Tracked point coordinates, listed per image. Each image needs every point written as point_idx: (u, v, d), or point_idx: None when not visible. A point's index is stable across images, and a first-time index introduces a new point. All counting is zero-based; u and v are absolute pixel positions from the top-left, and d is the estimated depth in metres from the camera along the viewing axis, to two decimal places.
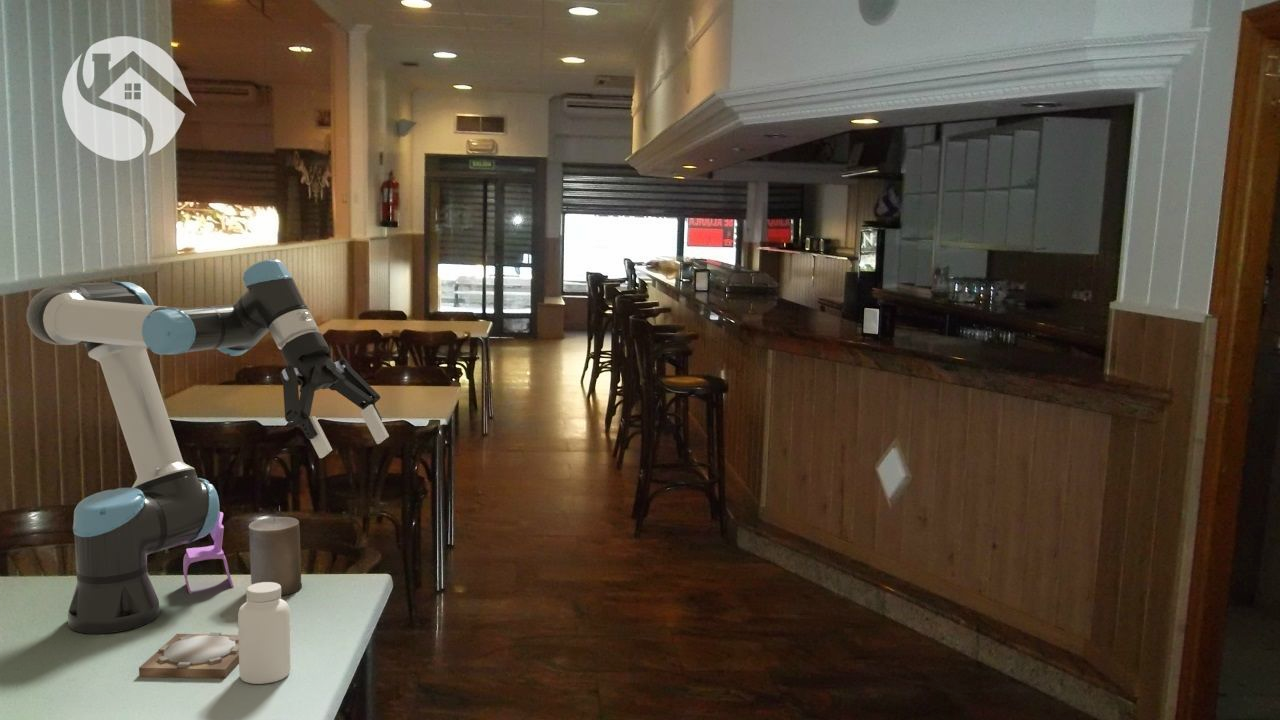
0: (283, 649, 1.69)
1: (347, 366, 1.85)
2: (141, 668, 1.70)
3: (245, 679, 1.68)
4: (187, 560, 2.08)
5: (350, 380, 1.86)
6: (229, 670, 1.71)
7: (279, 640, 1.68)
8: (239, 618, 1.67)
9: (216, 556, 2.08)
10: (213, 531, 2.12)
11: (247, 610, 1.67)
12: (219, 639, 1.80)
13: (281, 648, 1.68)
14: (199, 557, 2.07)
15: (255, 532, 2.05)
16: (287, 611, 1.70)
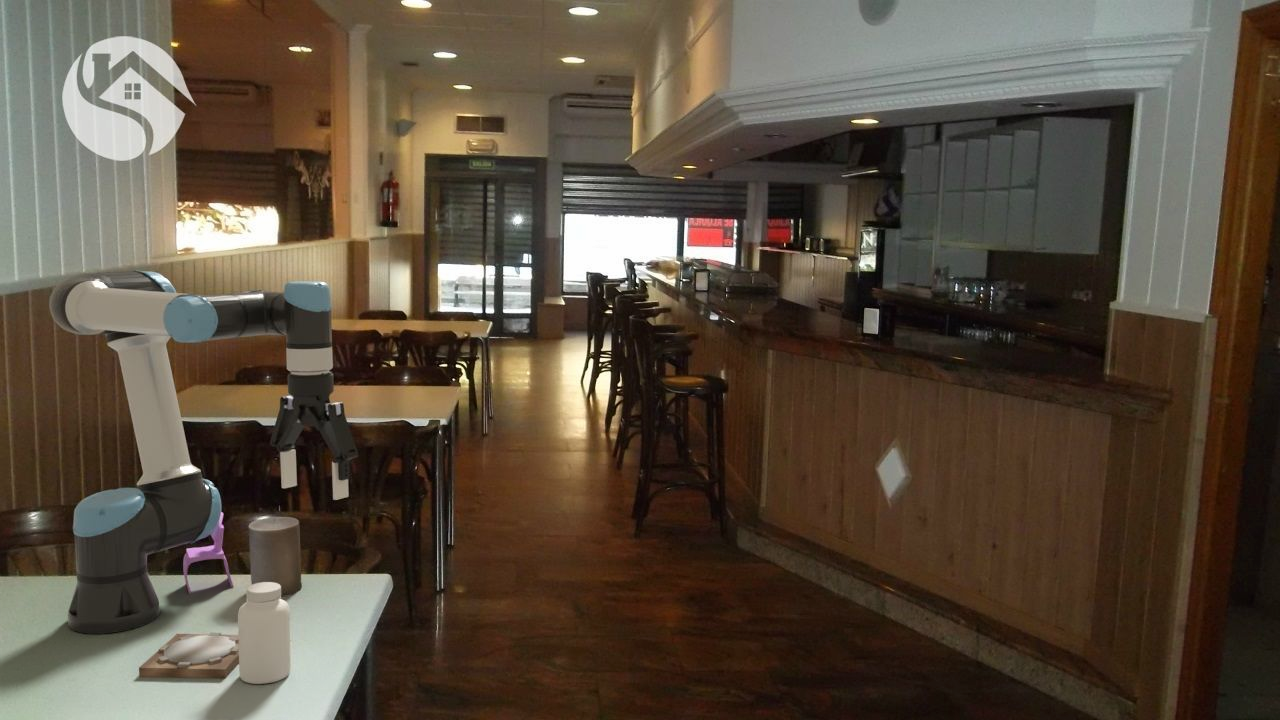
0: (283, 649, 1.69)
1: None
2: (141, 668, 1.70)
3: (245, 679, 1.68)
4: (187, 560, 2.08)
5: (287, 418, 1.84)
6: (229, 670, 1.71)
7: (279, 640, 1.68)
8: (239, 618, 1.67)
9: (216, 556, 2.08)
10: (213, 531, 2.12)
11: (247, 610, 1.67)
12: (219, 639, 1.80)
13: (281, 648, 1.68)
14: (199, 557, 2.07)
15: (255, 532, 2.05)
16: (287, 611, 1.70)
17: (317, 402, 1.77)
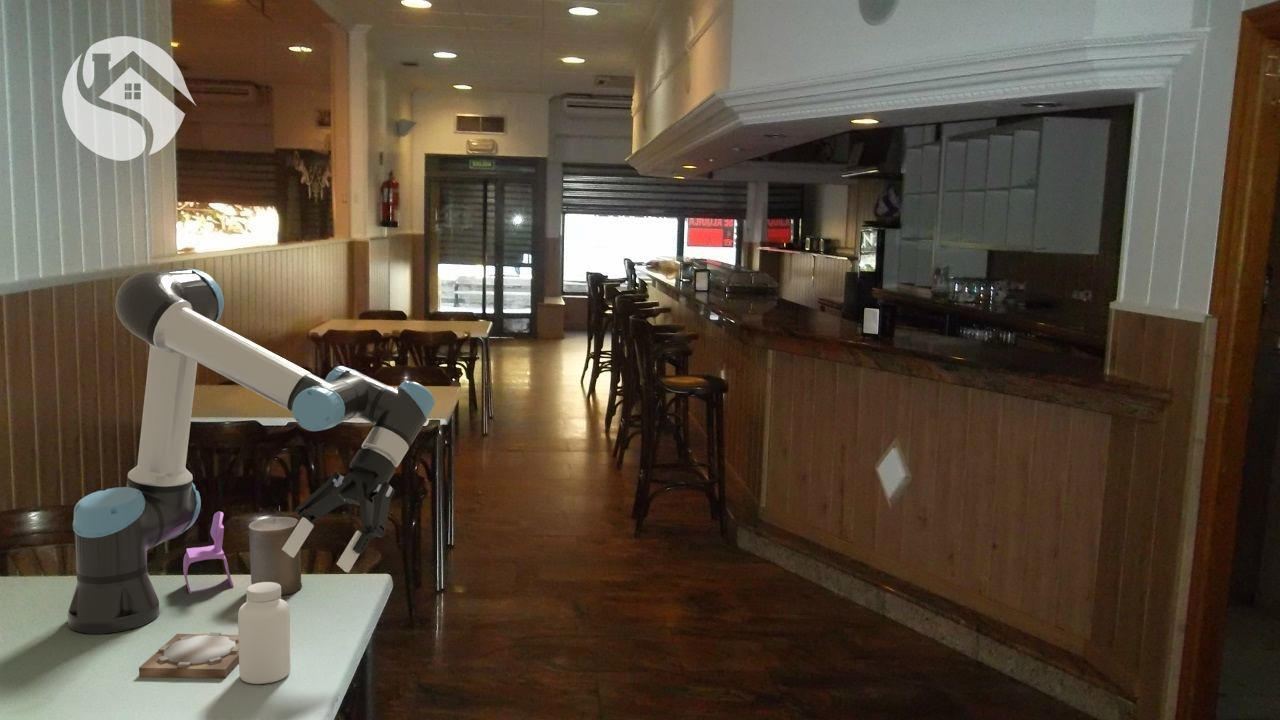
0: (283, 649, 1.69)
1: None
2: (141, 668, 1.70)
3: (245, 679, 1.68)
4: (187, 560, 2.08)
5: (326, 493, 1.87)
6: (229, 670, 1.71)
7: (279, 640, 1.68)
8: (239, 618, 1.67)
9: (216, 556, 2.08)
10: (213, 531, 2.12)
11: (247, 610, 1.67)
12: (219, 639, 1.80)
13: (281, 648, 1.68)
14: (199, 557, 2.07)
15: (255, 532, 2.05)
16: (287, 611, 1.70)
17: (373, 480, 1.84)
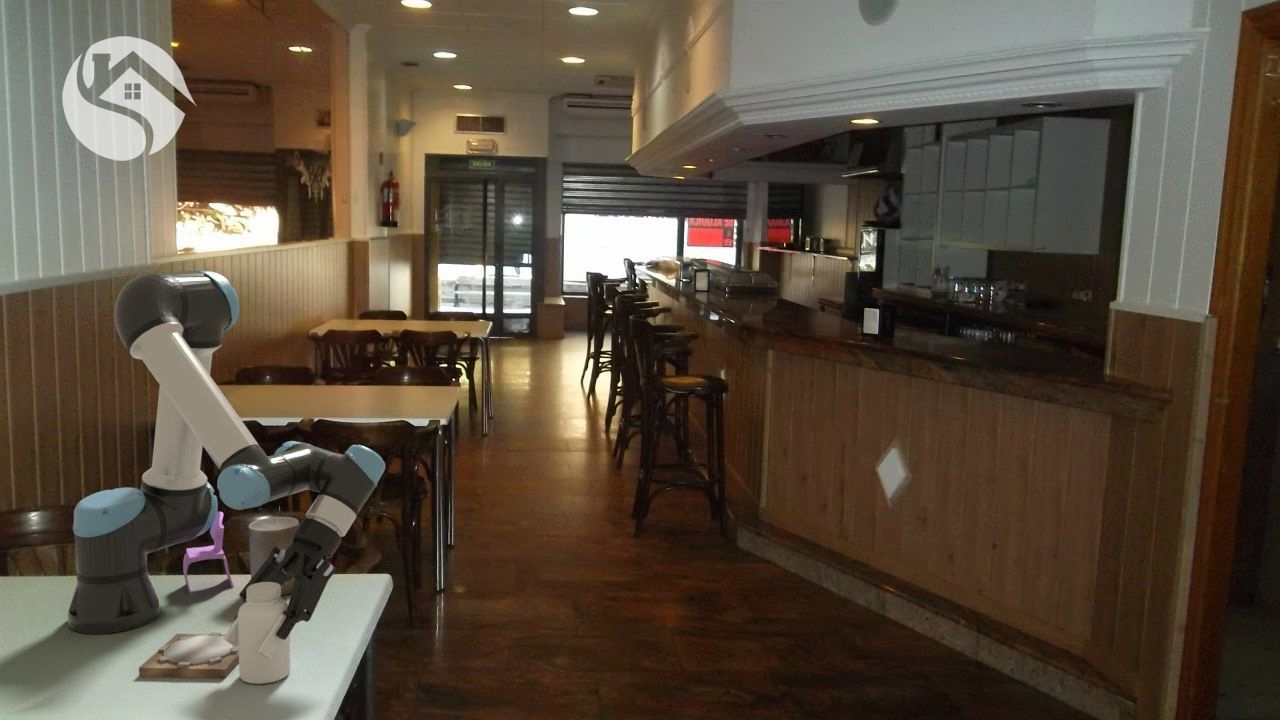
0: (283, 649, 1.69)
1: None
2: (141, 668, 1.70)
3: (245, 679, 1.68)
4: (187, 560, 2.08)
5: (269, 571, 1.77)
6: (229, 670, 1.71)
7: None
8: (239, 618, 1.67)
9: (216, 556, 2.08)
10: (213, 531, 2.12)
11: (247, 610, 1.67)
12: (219, 639, 1.80)
13: (280, 648, 1.68)
14: (199, 557, 2.07)
15: (255, 532, 2.05)
16: None
17: (316, 552, 1.74)
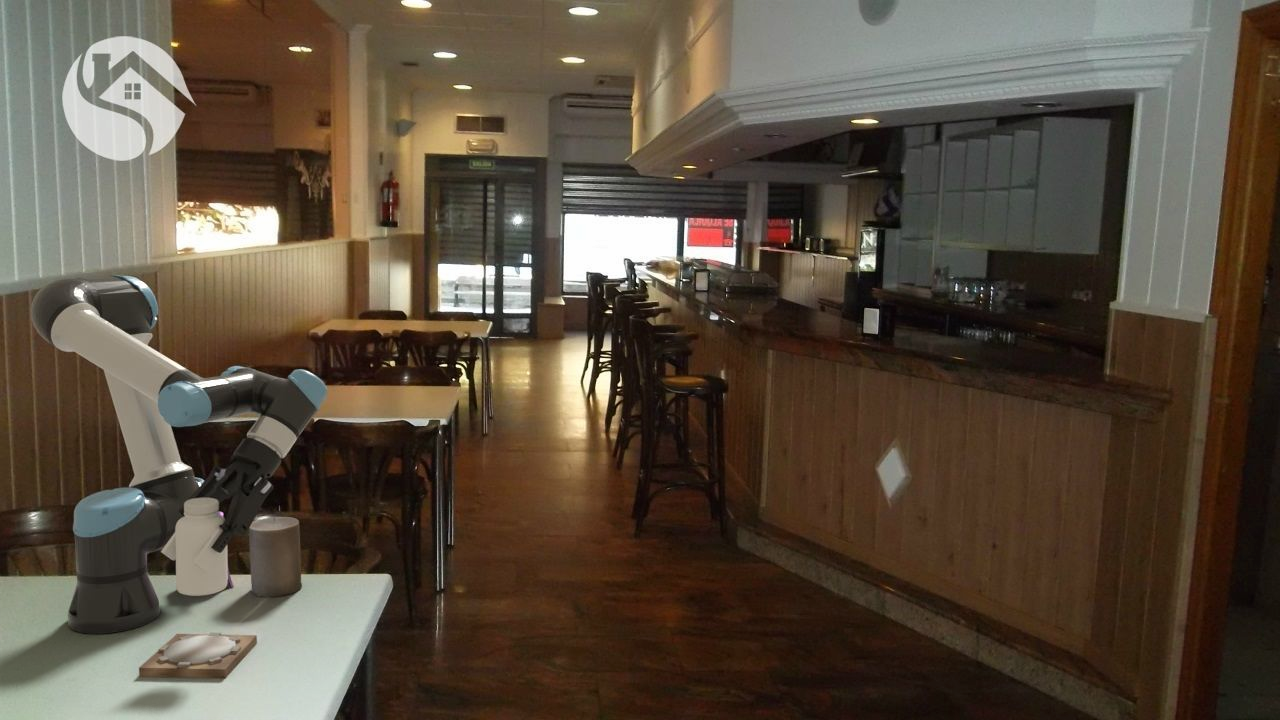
0: (220, 563, 1.72)
1: None
2: (141, 668, 1.70)
3: (181, 591, 1.71)
4: None
5: (209, 489, 1.80)
6: (229, 670, 1.71)
7: None
8: (176, 531, 1.71)
9: None
10: None
11: (184, 523, 1.70)
12: (219, 639, 1.80)
13: (217, 562, 1.72)
14: None
15: (255, 532, 2.05)
16: None
17: (255, 471, 1.77)
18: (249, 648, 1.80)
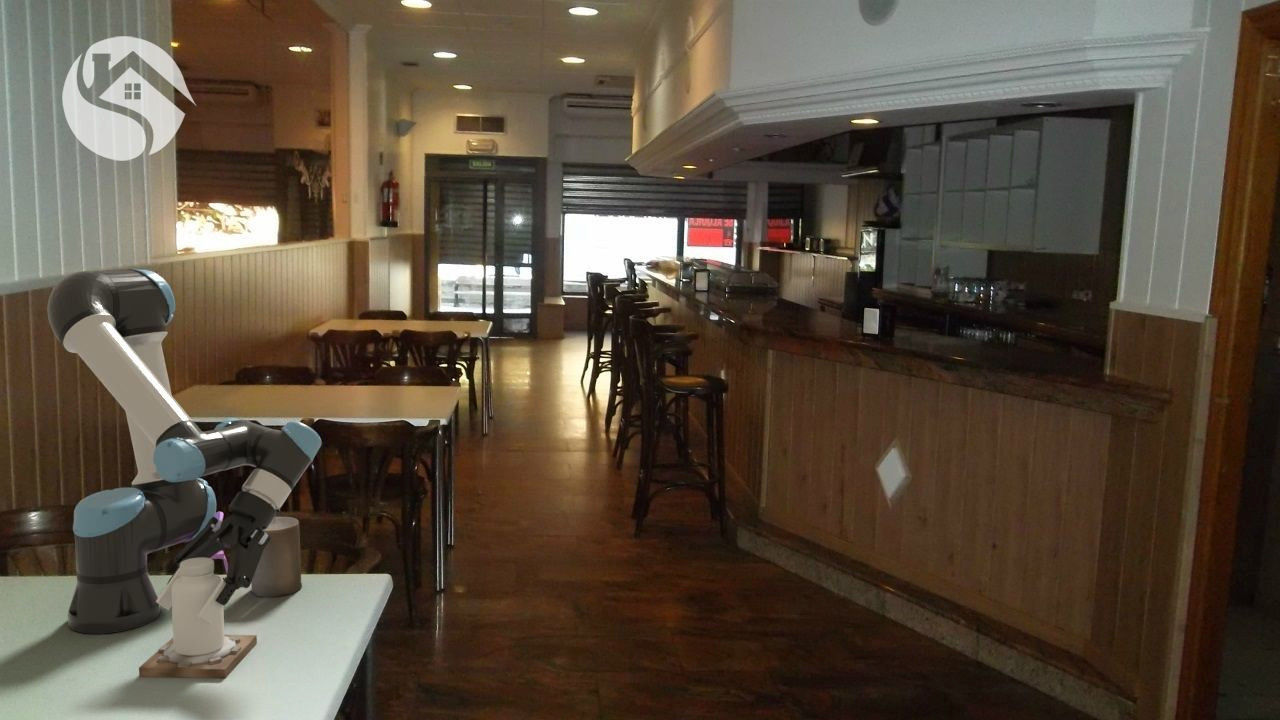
0: (216, 622, 1.74)
1: None
2: (141, 668, 1.70)
3: (178, 651, 1.73)
4: None
5: (205, 540, 1.83)
6: (229, 670, 1.71)
7: None
8: (172, 592, 1.73)
9: (216, 556, 2.08)
10: None
11: (179, 584, 1.72)
12: None
13: (213, 621, 1.74)
14: None
15: None
16: None
17: (250, 524, 1.79)
18: (249, 648, 1.80)
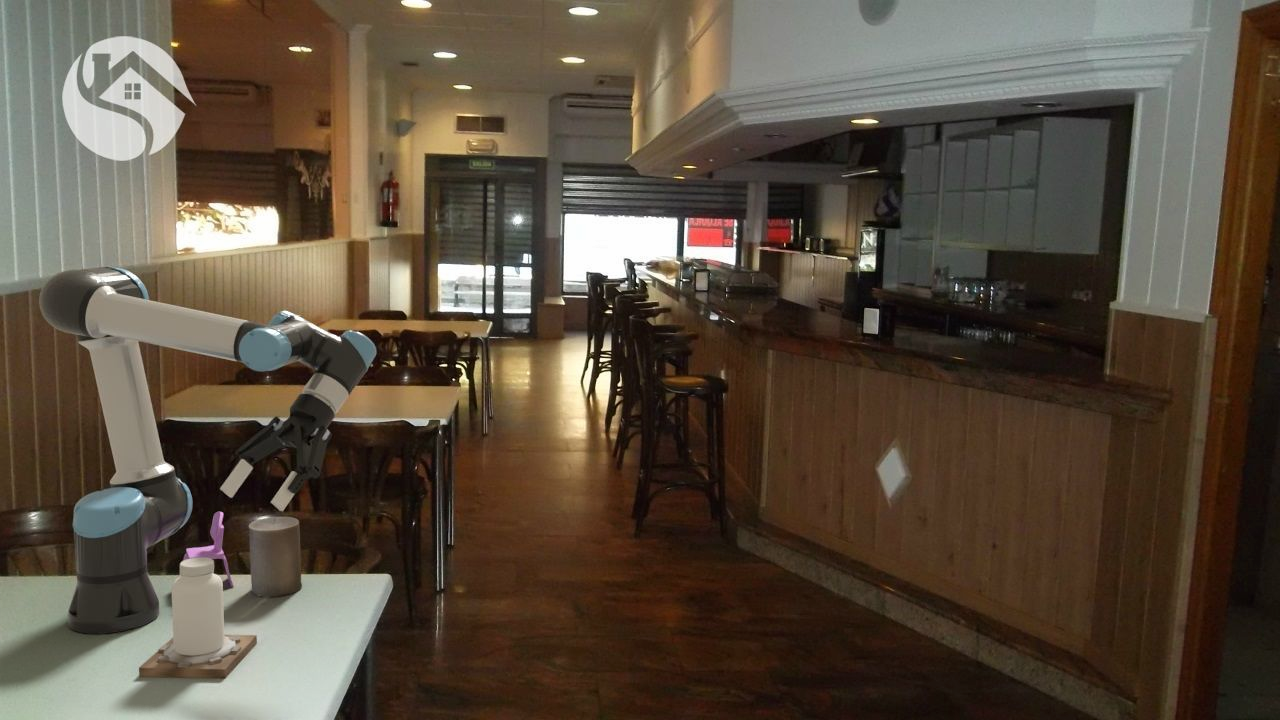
0: (216, 622, 1.74)
1: None
2: (141, 668, 1.70)
3: (178, 651, 1.73)
4: None
5: (266, 437, 1.92)
6: (229, 670, 1.71)
7: (212, 613, 1.73)
8: (172, 592, 1.73)
9: (216, 556, 2.08)
10: (213, 531, 2.12)
11: (179, 584, 1.72)
12: None
13: (213, 621, 1.74)
14: None
15: (255, 532, 2.05)
16: (219, 585, 1.75)
17: (311, 424, 1.88)
18: (249, 648, 1.80)
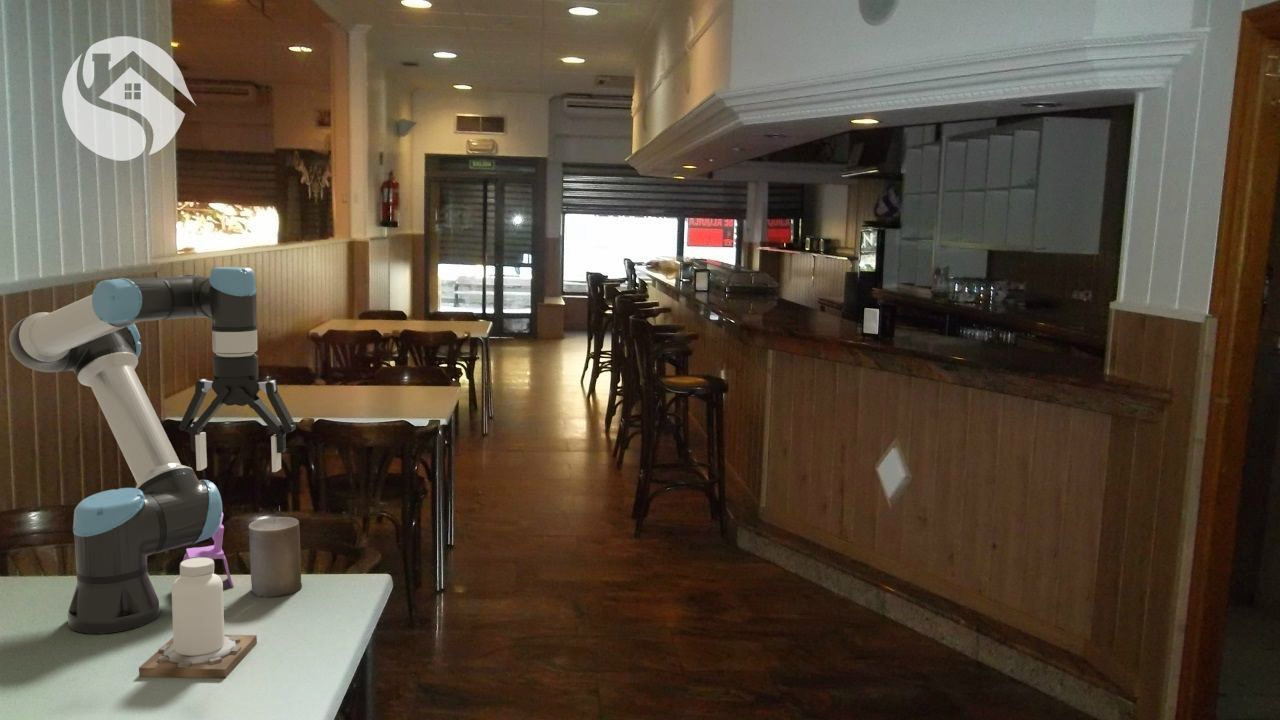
0: (216, 622, 1.74)
1: None
2: (141, 668, 1.70)
3: (178, 651, 1.73)
4: None
5: (200, 402, 1.88)
6: (229, 670, 1.71)
7: (212, 613, 1.73)
8: (172, 592, 1.73)
9: (216, 556, 2.08)
10: None
11: (180, 584, 1.72)
12: None
13: (213, 621, 1.74)
14: (199, 557, 2.07)
15: (255, 532, 2.05)
16: (220, 585, 1.75)
17: (250, 382, 1.86)
18: (249, 648, 1.80)
